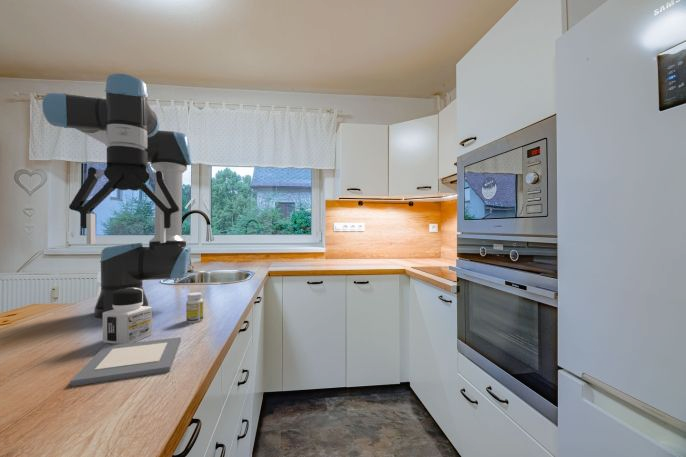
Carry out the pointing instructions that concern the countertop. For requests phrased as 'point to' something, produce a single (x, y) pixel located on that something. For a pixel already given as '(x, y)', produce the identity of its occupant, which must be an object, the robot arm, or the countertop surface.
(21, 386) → the countertop surface
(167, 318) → the countertop surface
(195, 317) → the supplement bottle
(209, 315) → the countertop surface
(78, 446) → the countertop surface
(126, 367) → the board
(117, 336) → the container
